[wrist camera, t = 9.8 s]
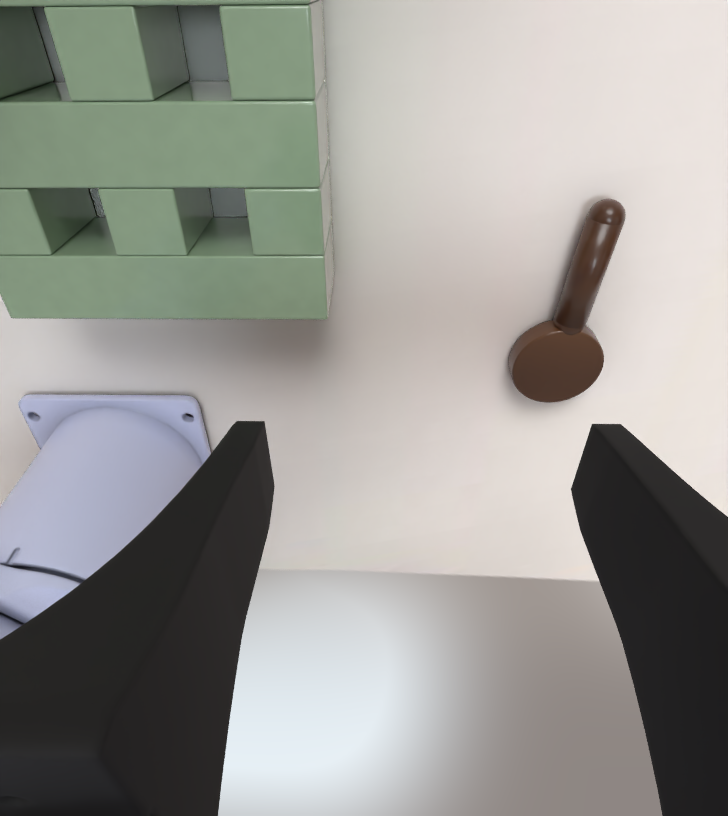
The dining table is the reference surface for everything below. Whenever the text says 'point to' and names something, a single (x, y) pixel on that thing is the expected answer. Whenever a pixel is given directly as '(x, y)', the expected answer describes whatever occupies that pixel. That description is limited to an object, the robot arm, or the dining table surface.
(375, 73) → the dining table surface
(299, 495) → the dining table surface
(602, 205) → the walnut spoon
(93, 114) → the utensil stand
